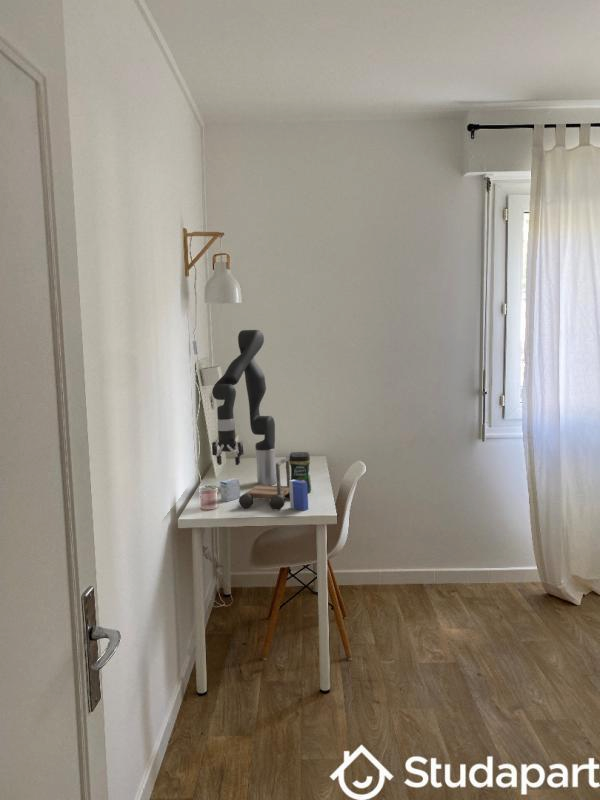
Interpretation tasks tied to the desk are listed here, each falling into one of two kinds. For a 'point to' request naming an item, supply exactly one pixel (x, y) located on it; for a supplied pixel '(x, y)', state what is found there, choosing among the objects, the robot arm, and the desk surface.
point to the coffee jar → (300, 467)
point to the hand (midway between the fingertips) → (228, 464)
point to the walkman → (298, 494)
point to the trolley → (269, 490)
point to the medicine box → (230, 489)
